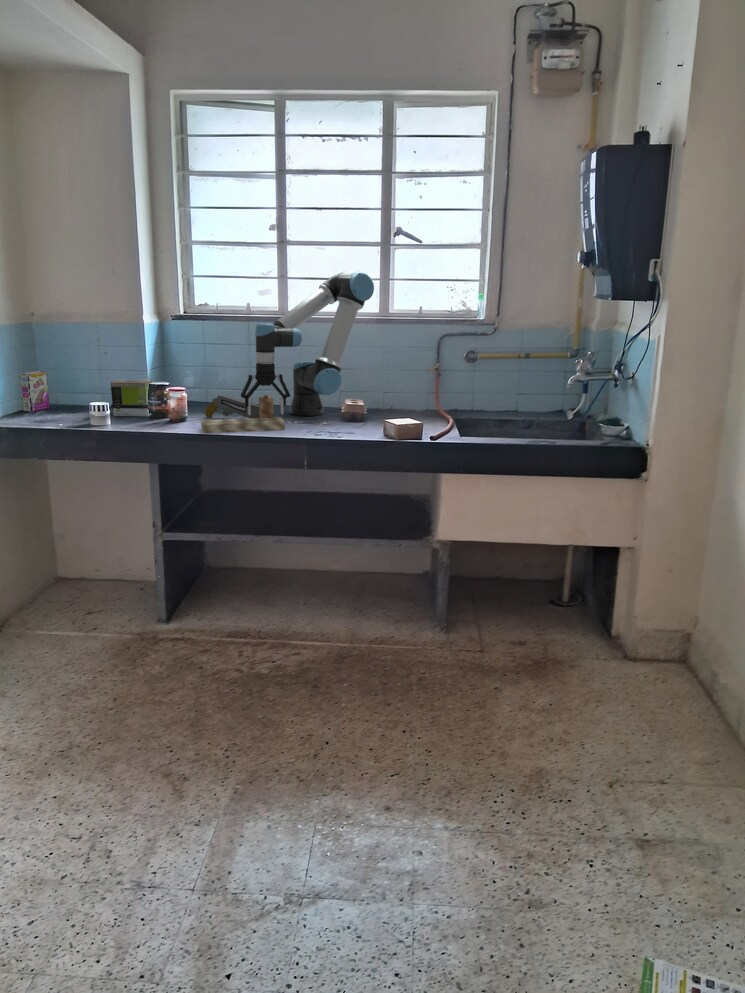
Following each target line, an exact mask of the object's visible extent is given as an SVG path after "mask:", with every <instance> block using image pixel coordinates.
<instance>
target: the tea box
mask: <svg viewBox="0 0 745 993" xmlns="http://www.w3.org/2000/svg"><path fill="white" fill-rule="evenodd" d="M152 380H153V379H116V380H114V381H111V382H110V391H111V403H112V414H113V417H145V418H146V417H149V416H151V415H152V414H151V413H150V414H149V410H148V387H149V384H150V383H152V384H153V381H152Z"/></svg>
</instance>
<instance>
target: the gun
mask: <svg viewBox="0 0 745 993" xmlns="http://www.w3.org/2000/svg"><path fill="white" fill-rule="evenodd" d="M211 402H212V403H210V404H209V405H208V406H207V407H206V408H205V411H204V414H205V417H206V418H210V419H211V418H213V415H214V413H215V412H217V413H219V414H221V415H223V416H224V417H228V416H229V415H233V414H237V415H240V416H243V417H245V418H259V404H258V403H257V404H256V403H251V415H248V407H246V406H245V400H241V399H237V398H233V397H230V396H228V395H223V394H219V395H218V396H217V397H215V398H212V401H211ZM218 408H221V409H223V410H222V411H220V410H219V409H218Z"/></svg>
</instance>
